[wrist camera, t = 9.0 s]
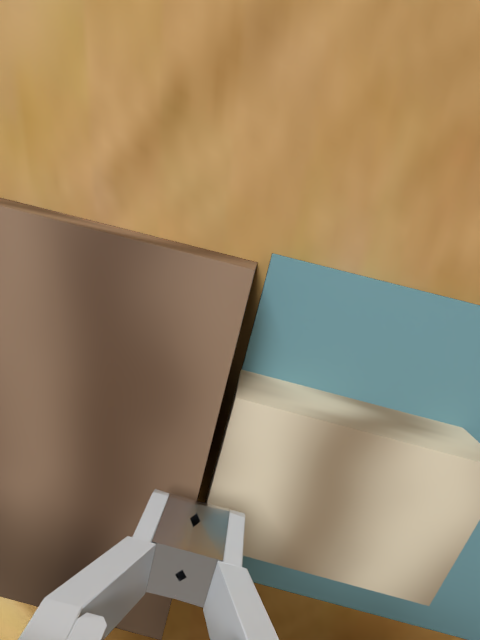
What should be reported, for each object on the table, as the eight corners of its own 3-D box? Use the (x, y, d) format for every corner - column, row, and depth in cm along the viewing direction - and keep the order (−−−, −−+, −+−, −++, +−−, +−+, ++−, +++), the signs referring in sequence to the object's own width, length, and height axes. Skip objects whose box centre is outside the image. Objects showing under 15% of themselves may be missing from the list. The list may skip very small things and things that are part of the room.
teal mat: (656, 349, 12) (672, 354, 11) (472, 630, 16) (479, 642, 16) (272, 253, 12) (272, 253, 12) (192, 555, 16) (190, 565, 16)
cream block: (462, 427, 13) (509, 470, 10) (401, 546, 15) (429, 606, 12) (240, 369, 13) (235, 397, 11) (207, 494, 15) (196, 542, 12)
